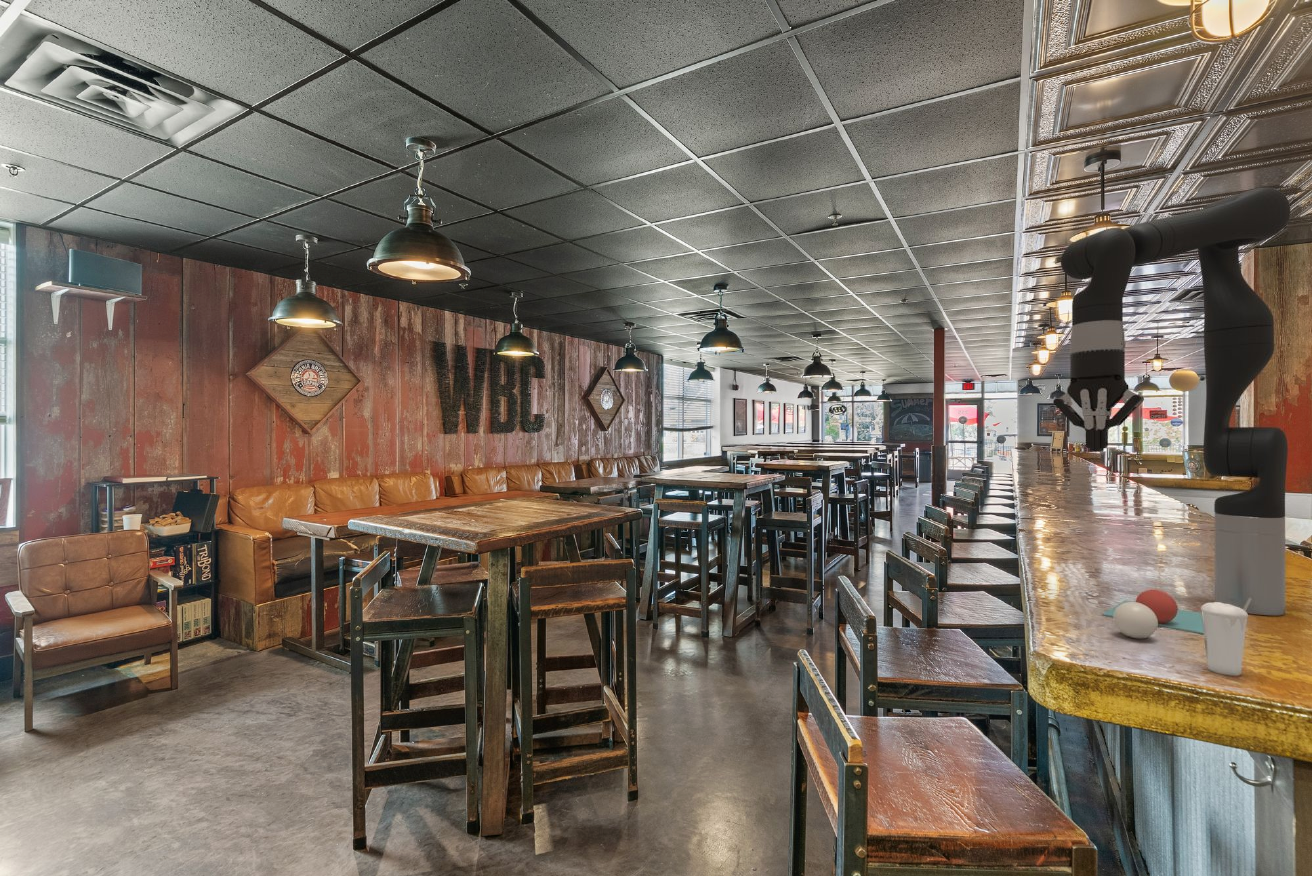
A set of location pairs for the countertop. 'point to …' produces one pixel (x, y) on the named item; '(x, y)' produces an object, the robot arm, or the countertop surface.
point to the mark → (1177, 620)
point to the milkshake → (1224, 636)
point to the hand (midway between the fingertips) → (1096, 451)
